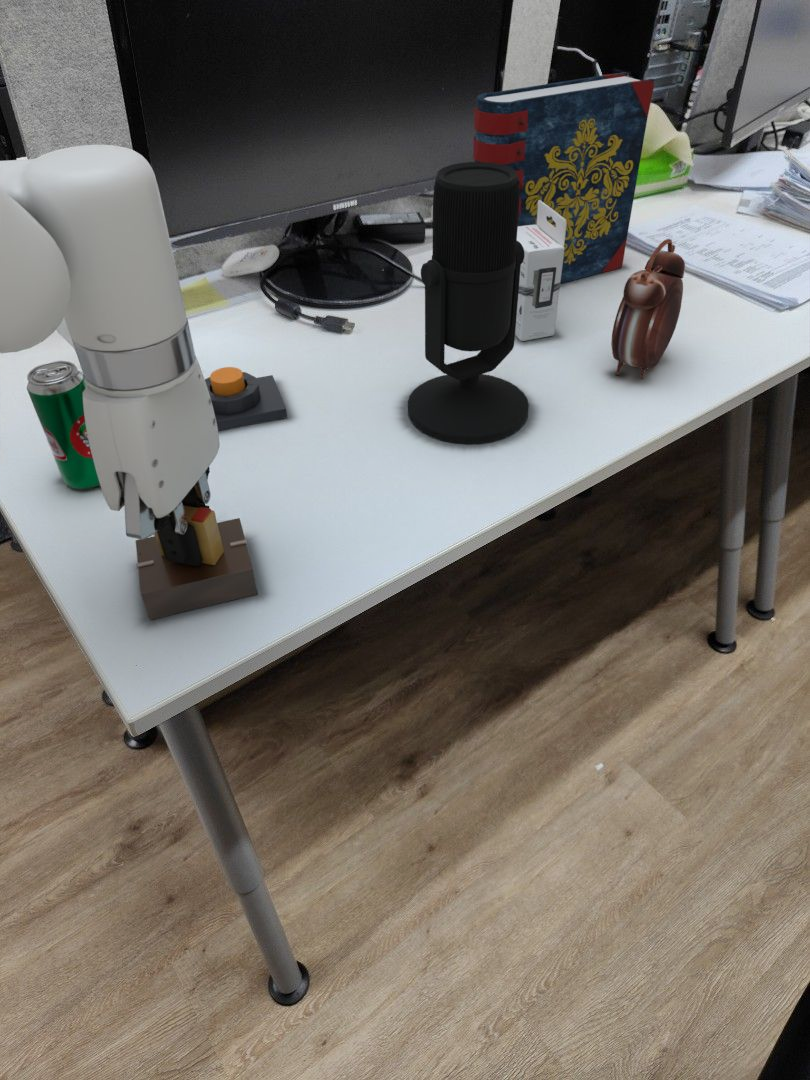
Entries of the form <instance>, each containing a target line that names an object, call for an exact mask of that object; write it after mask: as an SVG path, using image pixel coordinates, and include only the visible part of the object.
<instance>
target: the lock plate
mask: <svg viewBox="0 0 810 1080" xmlns="http://www.w3.org/2000/svg"><path fill="white" fill-rule="evenodd" d="M217 524H218V529H219V533H220V537H221V541H222V545H223V549H224V552H223V554H222V555H221V557H220V558H219V560H218V561H217V563H216V564H215V565H210V564H204V563H201V564H200V565H199V566H192V565H187V564H181V563H176V562H171V561H168V560H167V559H166V558H165V556H162V555H161V553H160V550H159V547H158V544H157V541H156V537H155V535H152V536H150V537H148V538H146V539H144V540H142V539H136V540H135V549H136V558H137V559H136V560H137V563H135V567H136V569H138V579H139V588H140V589H139V590H140V596H141V600H142V603H143V605H144V608H145V611H146V613H147V616H148V619H149V621H151V620H156V619H160V618H164V617H168V616H172V615H176V614H180V613H185V612H189V611H194V610H198V609H202V608H207V607H209V606H215V605H219V604H223V603H227V602H231V601H235V600H240V599H244V598H249V597H252V596H255V595H258V594H259V591H258V586H257V581H256V577H255V572H254V568H253V563H252V560H251V556H250V552H249V550H248V549H249V548H248V545H247V544H248V539H246V537H245V533H244V529H243V525H242V522H241V519H240V517H238V518H232V519H229V520H223V521H219V522H218V521H217Z"/></svg>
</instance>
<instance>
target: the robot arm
mask: <svg viewBox="0 0 810 1080" xmlns="http://www.w3.org/2000/svg"><path fill="white" fill-rule="evenodd" d="M163 206H164V205H163V201H162V197H161V193H160V189H159V185H158V182H157V178H156V174H155V171H154V170H153V167H152V165H151V164H150V163H149V161H148V160H147V158H145V157H144V156H143V155H142V154H141V153H139V152H137V151H135V150H134V149H132V148H128V147H124V146H119V145H115V144H84V145H75V146H69V147H64V148H59V149H56V150H55V149H54V150H52V151H49V152H47V153H44V154H41V155H39V156H38V157H35V158H27V159H12V160H11V159H10V160H0V354H8V353H18V352H21V351H24V350H27V349H28V350H29V349H31V348H33V347H35V346H37V345H39V344H40V343H43V342H44V341H45V340H46V339H48V338H49V337H50V336H52V335H53V334H54V333H55V331H57V330H56V329H57V327H58V326H59V325H60V324H61V322H62V320H63V318H65V321H66V324H67V327H68V330H69V333H70V336H71V338H72V342H73V345H74V348H75V350H74V352H75V351H76V352H75V354H76V357H77V360H78V363H79V366H80V368H81V371H82V374H83V375H84V378H85V381H86V383H87V385H88V386H87V387H86V389H85V390H84V391H83V393H82V394H83V408H84V416H85V424H86V430H87V435H88V440H89V445H90V449H91V453H92V457H93V461H94V465H95V469H96V472H97V476H98V479H99V482H100V486H99V487H100V488H101V491H102V494H103V497H104V500H105V502H106V504H107V506H108V509H110V510H111V511H116V512H120V511H121V510H122V508H123V507H124V525H125V526H124V527H125V536H126V537H128V538H130V539H131V538H132V539H136V540H139V539H142V540H144V539H146V538H149V537H153V536H154V535H155V533H156V532H157V534H158V537H159V540H160V543H161V547H162V550H163V553H164V556H165V558H166V559H167V560H168V561H171V562H176V563H181V564H187V565H192V566H199V565H200V564H201V563H202V561H203V559H202V555H201V552H200V548H199V544H198V540H197V537H196V533H195V529H194V526H191V525H188V523H187V519H186V515H185V512H184V508H183V505H184V506H190V507H196V508H199V507H203V508H208V509H211V508H210V505H208V503H210V500H211V497H212V496H211V495H212V493H211V489H210V484H209V481H208V479H209V475H210V471H211V470H210V467H211V464H212V463H213V462H214V460H215V459H216V458H217V455H218V454H219V450H220V445H221V444H220V435H219V431H218V427H217V422H216V418H215V413H214V409H213V405H212V402H211V398H210V395H209V391H208V388H207V385H206V382H205V379H206V378H205V376H204V373H203V371H202V368H201V364H200V362H199V360H198V357H197V355H196V351H195V347H194V343H193V338H192V333H191V329H190V324H189V320H188V314H187V310H186V306H185V302H184V297H183V293H182V288H181V283H180V279H179V278H180V277H179V274H178V269H177V266H176V260H175V257H174V252H173V247H172V243H171V238H170V234H169V229H168V224H167V220H166V216H165V211H164V207H163ZM74 348H73V349H74ZM168 514H169V515H170V516H166V515H168Z"/></svg>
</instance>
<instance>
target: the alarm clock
mask: <svg viewBox="0 0 810 1080" xmlns="http://www.w3.org/2000/svg"><path fill="white" fill-rule="evenodd" d="M665 246H667V250H662V249H663V248H664V247H665ZM675 250H676V246H675V244H673V241H672V239H670V238H667V239H665V240H664V239H663V240H662V242H660V244H659V245H658V246H657V247H656V248H655V250H654V251H653V252H652V254H651V255H650V257H649V258H648V260H647V262H646V264H645V266H644V269H642V270H637V271H636V272H634V273H632V274H631V275H630V277H628V278H627V280H626V282H625V284H624V287H623V296H622V299H621V301H620V302H619V306H618V309H617V312H616V315H615V319H614V321H613V327H612V333H611V343H610V344H611V345H610V346H611V353H612V357H613V359H614V360H616V361H617V367H616V371H615V373H614V374H615V376H619V375H620V371H621V369H622V367H623V366H624V365H628V366H630V367H634V368H640V375H639V378H640V379H644V378H645V376H644V374H645V372H646V370H652V369H654V368H655V367H656V366H657V364H659V362H660V360H661V359H662V358H663V355H664V353H665V352H666V350H667V348H668V346H669V344H670V342H671V340H672V338H673V336H674V332H675V330H676V327H677V324H678V321H679V317H680V313H681V309H682V302H683V301H682V300H683V294H684V282H683V279H684V276H685V272H686V262H685V260H684V258H683V257H682V256H681V255H679V254H678V253H675Z"/></svg>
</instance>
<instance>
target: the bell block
mask: <svg viewBox="0 0 810 1080" xmlns="http://www.w3.org/2000/svg"><path fill="white" fill-rule="evenodd" d="M242 372H243V377H244V383H245V389H244V390H243V391H241V392H239V393H238V394H234V395H229V396H223V395H216V394H215V393H214V392H213V390H212V385H211V380H210V376H209V377H207V378H204V379H205V382H206V385H207V388H208V391H209V395H210V398H211V402H212V405H213V409H214V413H215V418H216V422H217V427H218V432H219V431H223V430H228V429H229V430H231V429H233V428H240V427H244V426H245V427H246V426H250V425H256V424H260V423H266V422H272V421H276V420H281V419H282V420H283V419H287V418H288V413H287V408H286V404H285V403H284V400H283V398H282V395H281V392H280V390H279V387H278V385H277V383H276V380H275V378H274V376H273V374H271V375H264V376H259V377H256V376H254V375H252V374H250V373H248V372H246V371H242Z"/></svg>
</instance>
